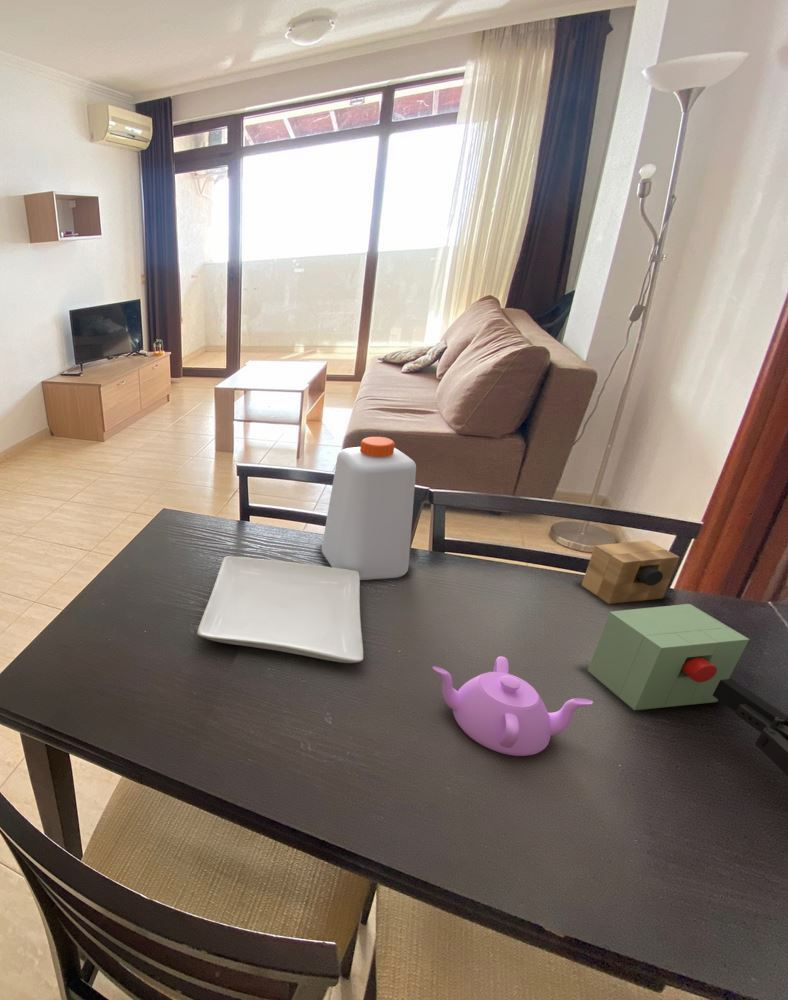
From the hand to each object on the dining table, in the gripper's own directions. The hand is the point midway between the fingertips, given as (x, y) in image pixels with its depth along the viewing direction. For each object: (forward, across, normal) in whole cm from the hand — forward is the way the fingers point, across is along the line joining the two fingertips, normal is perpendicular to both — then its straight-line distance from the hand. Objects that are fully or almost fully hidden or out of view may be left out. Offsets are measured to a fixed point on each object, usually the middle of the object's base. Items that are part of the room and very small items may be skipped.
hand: (722, 687), depth 70 cm
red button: (+3, 0, -1) cm, 3 cm away
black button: (+26, +16, -3) cm, 30 cm away
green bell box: (+8, 0, -8) cm, 11 cm away
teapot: (+4, -26, -8) cm, 27 cm away
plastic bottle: (+48, -24, -8) cm, 54 cm away
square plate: (+33, -47, -8) cm, 58 cm away
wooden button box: (+29, +16, -8) cm, 34 cm away
